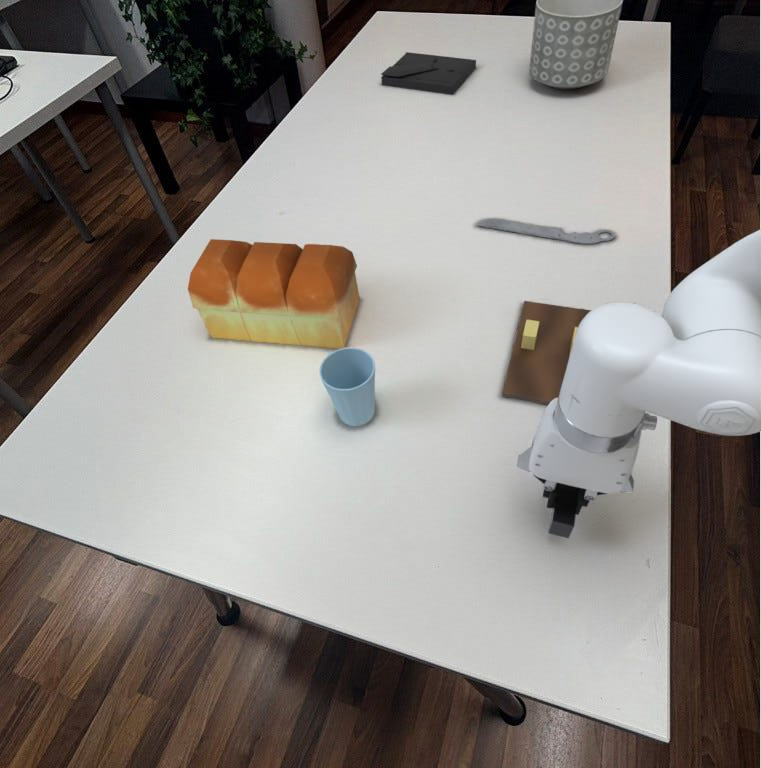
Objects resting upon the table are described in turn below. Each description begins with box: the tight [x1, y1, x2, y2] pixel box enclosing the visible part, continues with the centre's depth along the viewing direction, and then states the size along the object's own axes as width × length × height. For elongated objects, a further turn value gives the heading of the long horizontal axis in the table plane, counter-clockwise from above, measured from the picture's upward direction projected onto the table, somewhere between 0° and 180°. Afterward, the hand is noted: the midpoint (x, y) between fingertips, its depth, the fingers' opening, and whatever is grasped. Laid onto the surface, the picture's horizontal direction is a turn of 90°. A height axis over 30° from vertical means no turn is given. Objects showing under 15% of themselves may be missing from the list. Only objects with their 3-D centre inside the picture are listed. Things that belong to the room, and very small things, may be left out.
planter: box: [528, 0, 624, 91], centre depth 134 cm, size 19×19×18 cm
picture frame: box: [380, 51, 477, 95], centre depth 150 cm, size 16×3×21 cm
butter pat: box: [521, 320, 539, 350], centre depth 87 cm, size 2×4×3 cm, turn 162°
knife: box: [476, 218, 616, 245], centre depth 106 cm, size 25×1×5 cm
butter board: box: [502, 300, 593, 406], centre depth 86 cm, size 18×20×1 cm
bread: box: [187, 238, 361, 350], centre depth 93 cm, size 25×12×15 cm, turn 79°
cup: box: [319, 346, 376, 427], centre depth 80 cm, size 8×8×10 cm
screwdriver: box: [547, 483, 579, 539], centre depth 70 cm, size 19×2×4 cm, turn 162°
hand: (563, 500), depth 68 cm, fingers closed on screwdriver, 2 cm apart
